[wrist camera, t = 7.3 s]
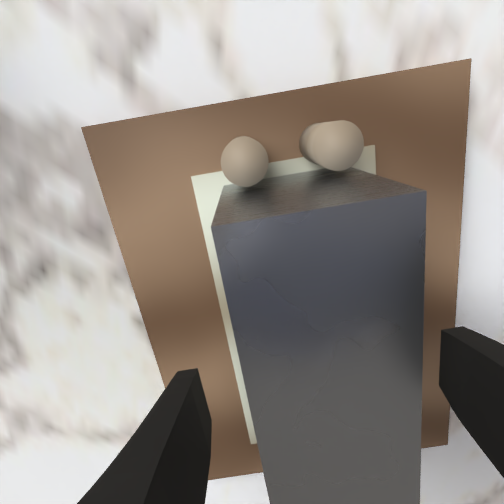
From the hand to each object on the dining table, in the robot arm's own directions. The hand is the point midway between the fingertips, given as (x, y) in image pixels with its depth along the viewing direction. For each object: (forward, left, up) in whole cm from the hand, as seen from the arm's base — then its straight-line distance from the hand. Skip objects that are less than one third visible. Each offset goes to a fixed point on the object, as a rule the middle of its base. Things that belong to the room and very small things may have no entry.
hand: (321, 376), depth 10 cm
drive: (0, 0, -3) cm, 3 cm away
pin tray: (0, 0, -4) cm, 4 cm away
